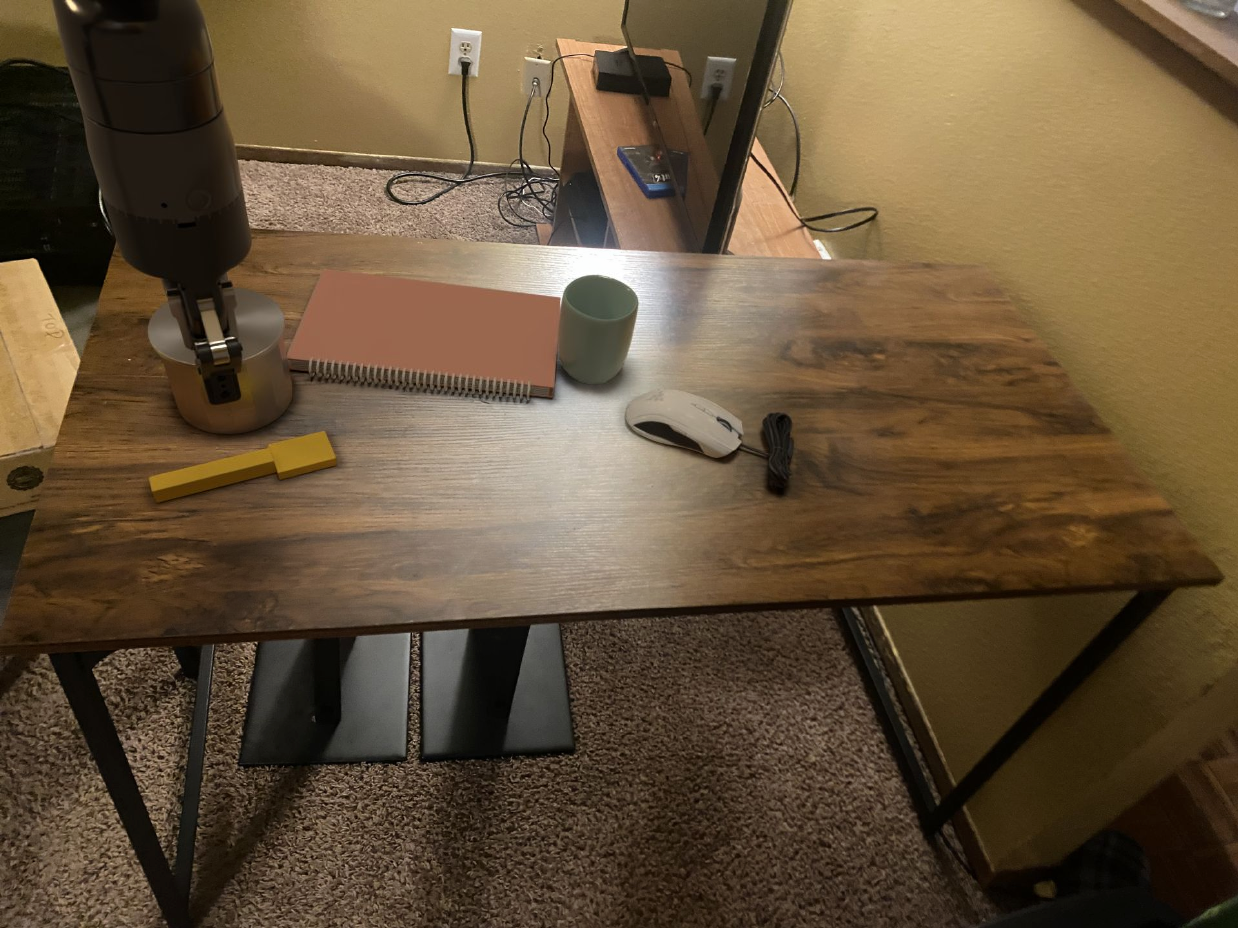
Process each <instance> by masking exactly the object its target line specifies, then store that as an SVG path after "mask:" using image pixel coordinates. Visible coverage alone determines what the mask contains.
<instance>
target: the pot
mask: <svg viewBox="0 0 1238 928" xmlns="http://www.w3.org/2000/svg"><path fill="white" fill-rule="evenodd" d="M286 349H287V348H286V344H285V338H284V336H283V337H282V339H281V340H280V342H279V343H278V344H277V346H276V347H274V348H273V349H272V350H271V351H270V352H268V353H267V354H266V355H264V356H262V357H260V358H259V359H256V360H254V361H252V362H249V363H246V364H243V365H242V367H241V372H240V373H237V377H238V382H239V386H240V391H241V398H240V399H239V400H238V401H234V402H229V403H225V404H220V405H212V404H211V403H210V402H209V399H208V396H207V393H206V390H205V387H204V383H203V379H202V375H199V373H198V369H194V368H188V367H184V366H180V365H177V364H175V363H172V362H170V361H168V360H166V359H165V358H163V357H162V356H160V358H161V360H162V364H163V367H164V370H165V373H166V376H167V379H168V381H169V386H170V388H171V392H172V394H173V397H174V400H175V404H176V406H177V410H178V412H179V414H180V415H181V417H182V419H184V421H186V422H187V423H188V424H189V425H190V426H193V427H194V428H196V429H199V430H201V431H203V432H208V433H211V434H218V435H238V434H244V433H250V432H252V431H256V430H259V429H261V428H264V427H266V426H268V425H270V424H271V423H273V422H275V421H276V420H278V419H279V418H280V417H281V416H282V415H283V414H284V413H285V412H286V411H287V409H288V408H289V406H290V405H291V403H292V399H293V381H292V376H291V371H290V370H291V369H289V365H288V364H289V360H288V359H287V350H286Z"/></svg>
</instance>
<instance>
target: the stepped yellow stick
mask: <svg viewBox="0 0 1238 928" xmlns="http://www.w3.org/2000/svg"><path fill="white" fill-rule="evenodd" d="M337 461H338V460H337V457H336V454H335V452H334V449H333V447H332V445H331V442H330V440H329V438H328V435H327V433H326V431H325V430H321V431H317V432H314V433H308V434H306V435H305V434H304V435H301V436H297V437H293V438H288V439H285V440H281V441H277V442H273V443H268V444H267V447H265V448H262V449H258V450H254V451H250V452H245V453H241V454H238V455H237V454H236V455H233V456H230V457H225V458H221V459H217V460H213V461H209V462H204V463H201V464H197V465H193V466H188V467H184V468H180V469H176V470H172V471H167V472H164V473H158V474H156V475H152V476H149V477H148V481H149V485H150V489H151V493H152V495H153V498H154V500H155V503H156V504H157V503H162V502H166V501H170V500H174V499H178V498H181V497H186V496H191V495H193V494H197V493H201V492H205V491H208V490H213V489H217V488H220V487H224V486H228V485H232V484H236V483H240V482H243V481H248V480H252V479H255V478H259V477H263V476H267V475H271V474H275V473H276V474H277V476H278V480H279V481H281V480H285V479H289V478H292V477H297V476H300V475H303V474H307V473H311V472H312V473H313V472H315V471H320V470H323V469H327V468H330V467H335V466H337V465H338V462H337Z"/></svg>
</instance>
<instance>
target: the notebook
mask: <svg viewBox="0 0 1238 928" xmlns="http://www.w3.org/2000/svg"><path fill="white" fill-rule="evenodd" d="M561 301H562V298H561V297H560V296H552V295H545V294H535V293H528V292H521V291H512V290H502V289H496V288H495V289H494V288H488V287H478V286H471V285H462V284H461V285H460V284H452V283H446V282H439V281H438V282H437V281H430V280H422V279H414V278H413V279H412V278H404V277H398V276H388V275H381V274H380V275H379V274H370V273H364V272H357V271H356V272H355V271H346V270H339V269H332V268H331V269H330V268H322V269H321V272H320V274H319V277H318V279H317V281H316V283H315V286H314V289H313V290H312V293H311V295H310V298H309V300H308V303H307V305H306V308H305V310H304V313H303V315H302V317H301V319H300V322H299V325H298V327H297V329H296V332H295V334H294V336H293V338H292V341H291V344H290V345H289V348H288V350H287V352H286V354H287V359H288V365H289V370H293V371H302V372H308V374H309V377H314V376H315V375H316V377H317V378H321V377H322V376H323V377H324V378H325V379H329V377H330V378H331V379H332V380H335V379H336V378H338V380H341V381H342V380H343V379H345V381H350V380H351V377H352V381H353V382H357V381H358V379H359V382H361V383H364V382H365V380H366V382H367V384H368V383H372V380H373V383H374V384H378V383H379V381H380V383H381V385H385V384H386V381H387V384H388V385H389V386H392V385H393V382H394V385H395V386H396V387H399V386H400V382H401V385H402V387H406V386H407V383H408V387H409V388H413V387H414V384H415V388H416V389H420V388H421V384H422V387H423V389H424V390H427V389H428V385H429V389H430V390H434V389H435V386H436V390H437V391H440V390H442V387H443V390H444V392H447V391H448V389H449V388H450V391H451V393H454V392H455V389H456V388H457V392H458V393H462V389H464V393H465V394H468V393H469V390H471V394H472V395H475V394H476V390H478V395H481V396H482V394H483V391H485V396H489V393H490V392H492V393H491V394H492V396H493V397H496V393H498V396H499V398H502V397H503V394H504V393H505V397H506V398H509V397H510V394H512V398H513V399H516V397H517V395H519V399H520V400H522V399H523V396H524V395H525V396H526V400H527V401H529V400H530V396H533V397H534V396H535V397H543V398H552V399H553V398H554V389H555V380H556V379H555V377H556V368H557V367H556V365H557V364H556V363H557V353H558V327H559V318H560V309H561ZM344 377H345V378H344Z"/></svg>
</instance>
